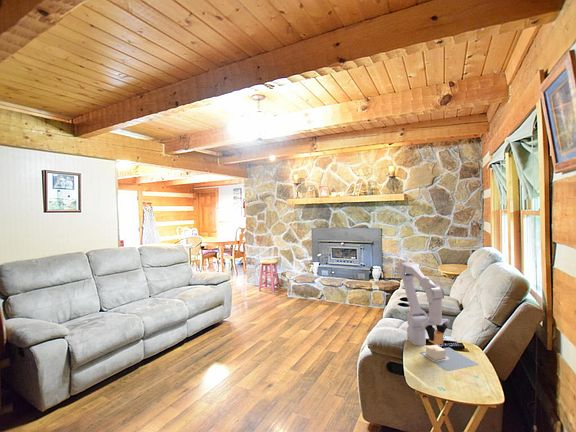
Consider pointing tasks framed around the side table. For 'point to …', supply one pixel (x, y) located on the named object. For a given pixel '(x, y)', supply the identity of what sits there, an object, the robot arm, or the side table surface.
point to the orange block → (437, 338)
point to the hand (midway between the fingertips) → (435, 339)
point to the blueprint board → (452, 360)
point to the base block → (435, 352)
